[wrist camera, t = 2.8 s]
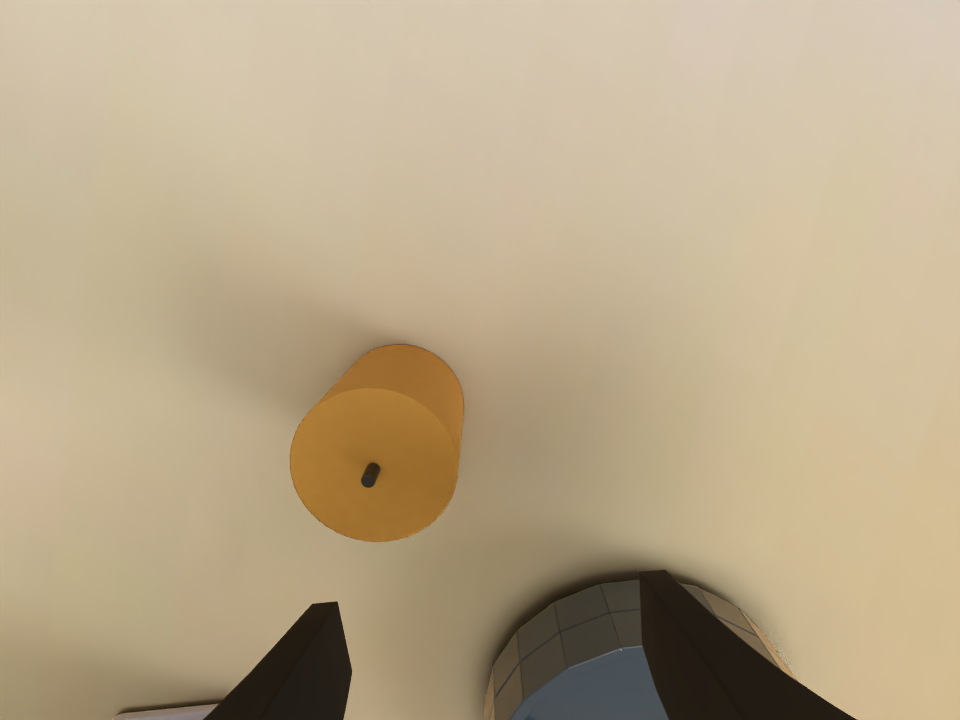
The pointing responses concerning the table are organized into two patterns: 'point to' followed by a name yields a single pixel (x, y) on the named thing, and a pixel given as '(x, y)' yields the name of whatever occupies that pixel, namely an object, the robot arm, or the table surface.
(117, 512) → the table surface
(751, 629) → the bowl
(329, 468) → the candle
